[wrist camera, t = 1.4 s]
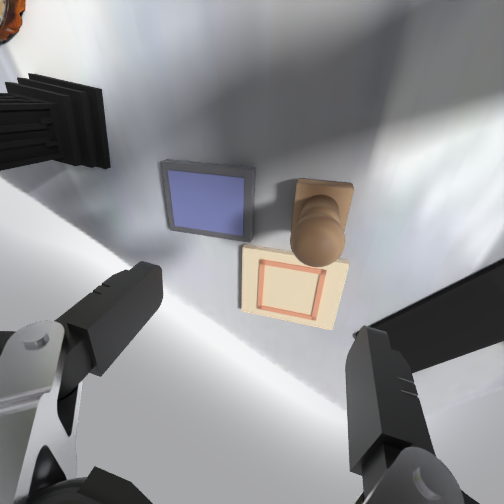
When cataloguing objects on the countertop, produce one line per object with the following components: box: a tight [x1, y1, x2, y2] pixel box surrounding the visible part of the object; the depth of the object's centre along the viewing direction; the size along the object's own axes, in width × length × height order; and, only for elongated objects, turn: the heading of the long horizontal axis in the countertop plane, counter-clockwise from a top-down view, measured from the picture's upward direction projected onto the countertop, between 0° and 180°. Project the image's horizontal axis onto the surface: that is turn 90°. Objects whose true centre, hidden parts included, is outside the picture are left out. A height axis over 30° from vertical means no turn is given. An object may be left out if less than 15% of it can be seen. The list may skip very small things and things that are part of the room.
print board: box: [242, 244, 349, 330], centre depth 32 cm, size 12×10×1 cm
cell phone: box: [356, 260, 504, 373], centre depth 30 cm, size 9×18×1 cm, turn 139°
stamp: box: [290, 178, 354, 267], centre depth 22 cm, size 5×5×10 cm
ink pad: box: [161, 160, 255, 242], centre depth 29 cm, size 10×8×1 cm
